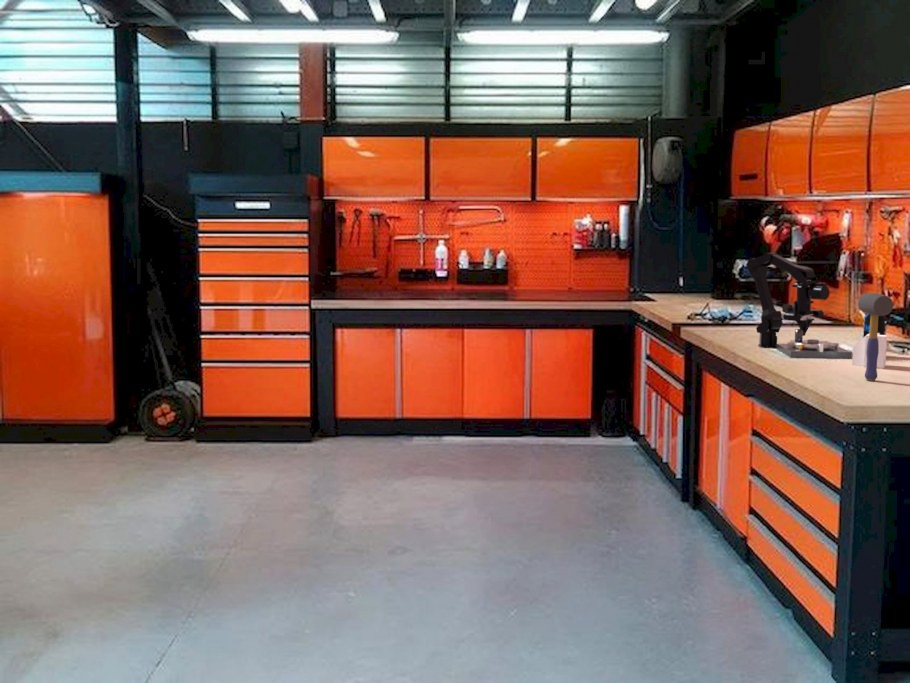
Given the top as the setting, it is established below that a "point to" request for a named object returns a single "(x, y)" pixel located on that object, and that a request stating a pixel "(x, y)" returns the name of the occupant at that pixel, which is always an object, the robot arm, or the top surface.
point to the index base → (813, 352)
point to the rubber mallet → (874, 327)
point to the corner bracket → (861, 348)
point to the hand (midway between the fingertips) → (803, 335)
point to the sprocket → (810, 342)
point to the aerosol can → (880, 324)
